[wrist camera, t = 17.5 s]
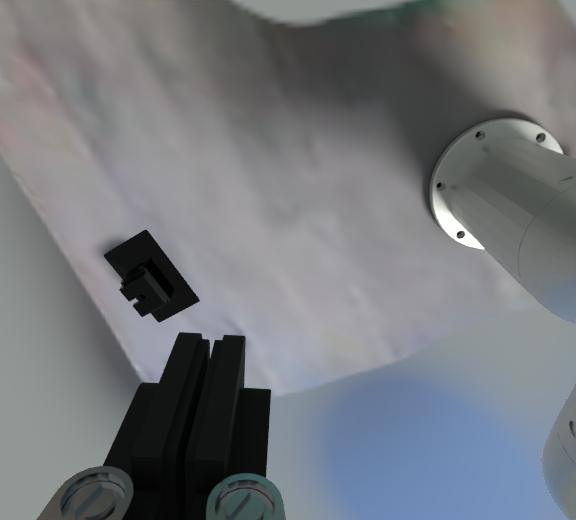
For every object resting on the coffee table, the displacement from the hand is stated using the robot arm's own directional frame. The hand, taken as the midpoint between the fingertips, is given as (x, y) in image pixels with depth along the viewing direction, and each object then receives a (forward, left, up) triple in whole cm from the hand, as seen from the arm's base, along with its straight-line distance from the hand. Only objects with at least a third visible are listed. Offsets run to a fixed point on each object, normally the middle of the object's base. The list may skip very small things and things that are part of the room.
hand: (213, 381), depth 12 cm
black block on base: (+12, +15, -35) cm, 40 cm away
